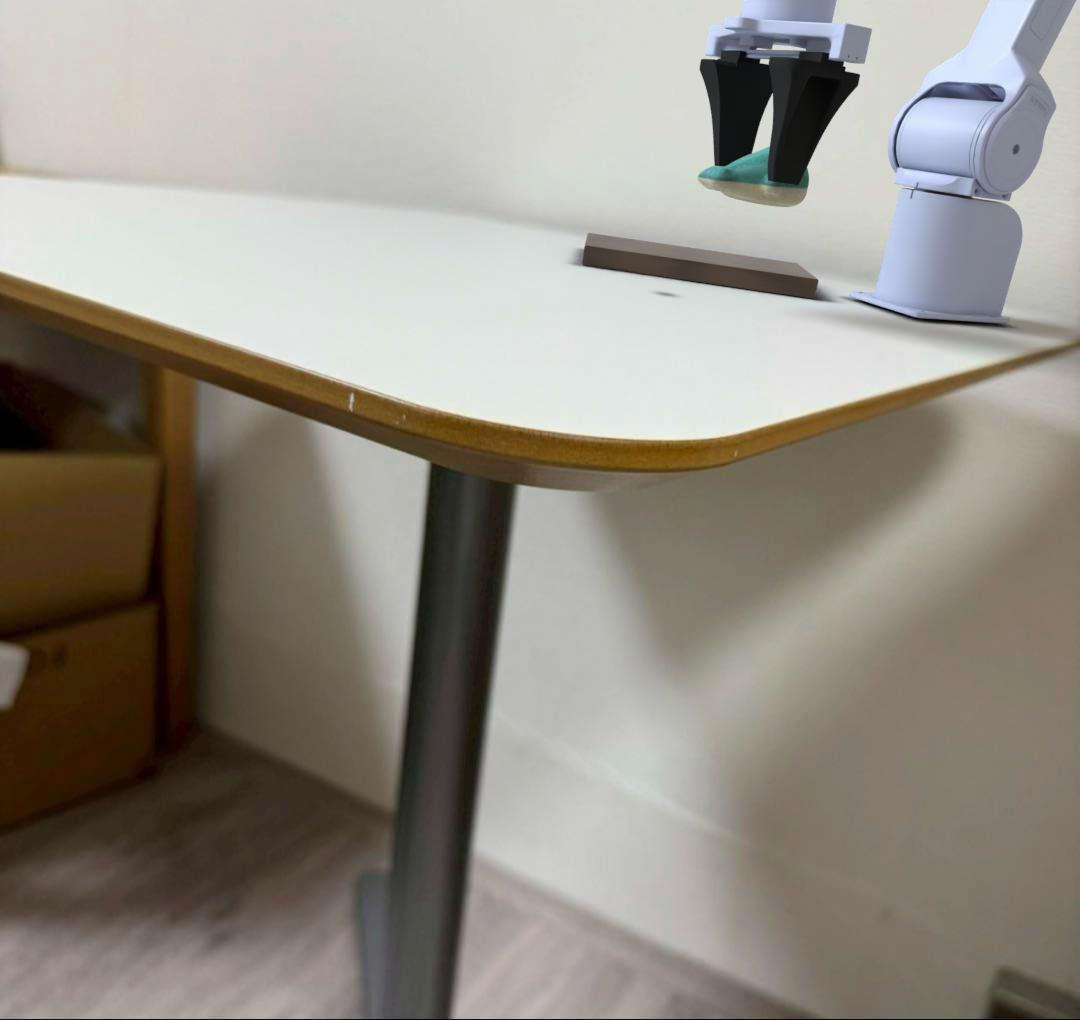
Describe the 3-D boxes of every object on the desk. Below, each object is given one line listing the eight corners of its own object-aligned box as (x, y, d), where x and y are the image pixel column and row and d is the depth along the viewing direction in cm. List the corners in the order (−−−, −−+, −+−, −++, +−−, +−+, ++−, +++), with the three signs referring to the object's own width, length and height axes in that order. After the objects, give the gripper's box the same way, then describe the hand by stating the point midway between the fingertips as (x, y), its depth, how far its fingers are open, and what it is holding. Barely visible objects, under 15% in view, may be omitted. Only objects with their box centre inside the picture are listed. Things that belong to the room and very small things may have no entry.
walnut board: (793, 280, 90) (797, 263, 90) (814, 299, 81) (819, 279, 80) (585, 250, 90) (587, 232, 90) (581, 265, 81) (584, 245, 81)
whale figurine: (820, 213, 69) (833, 153, 68) (719, 201, 67) (730, 138, 66) (778, 203, 74) (789, 146, 73) (683, 191, 72) (693, 133, 71)
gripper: (683, -55, 70) (649, 160, 75) (821, -74, 58) (770, 184, 62) (770, -35, 73) (732, 170, 78) (919, -49, 61) (862, 195, 65)
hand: (755, 177), depth 70 cm, fingers closed on whale figurine, 6 cm apart
